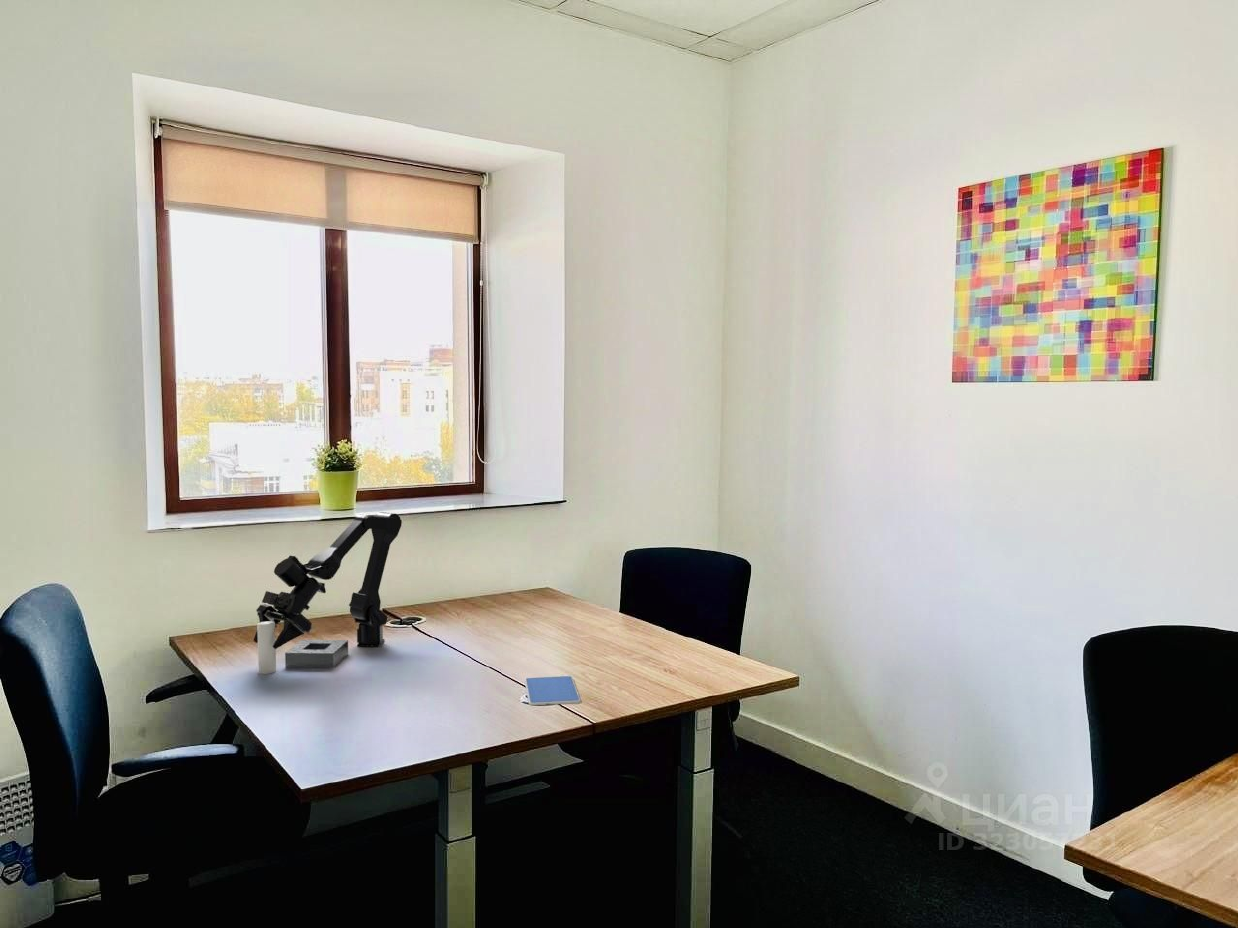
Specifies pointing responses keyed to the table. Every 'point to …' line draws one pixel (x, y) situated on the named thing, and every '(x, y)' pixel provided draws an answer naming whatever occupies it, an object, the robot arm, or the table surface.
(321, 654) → the collar
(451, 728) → the table surface
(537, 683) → the tablet computer
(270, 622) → the peg
